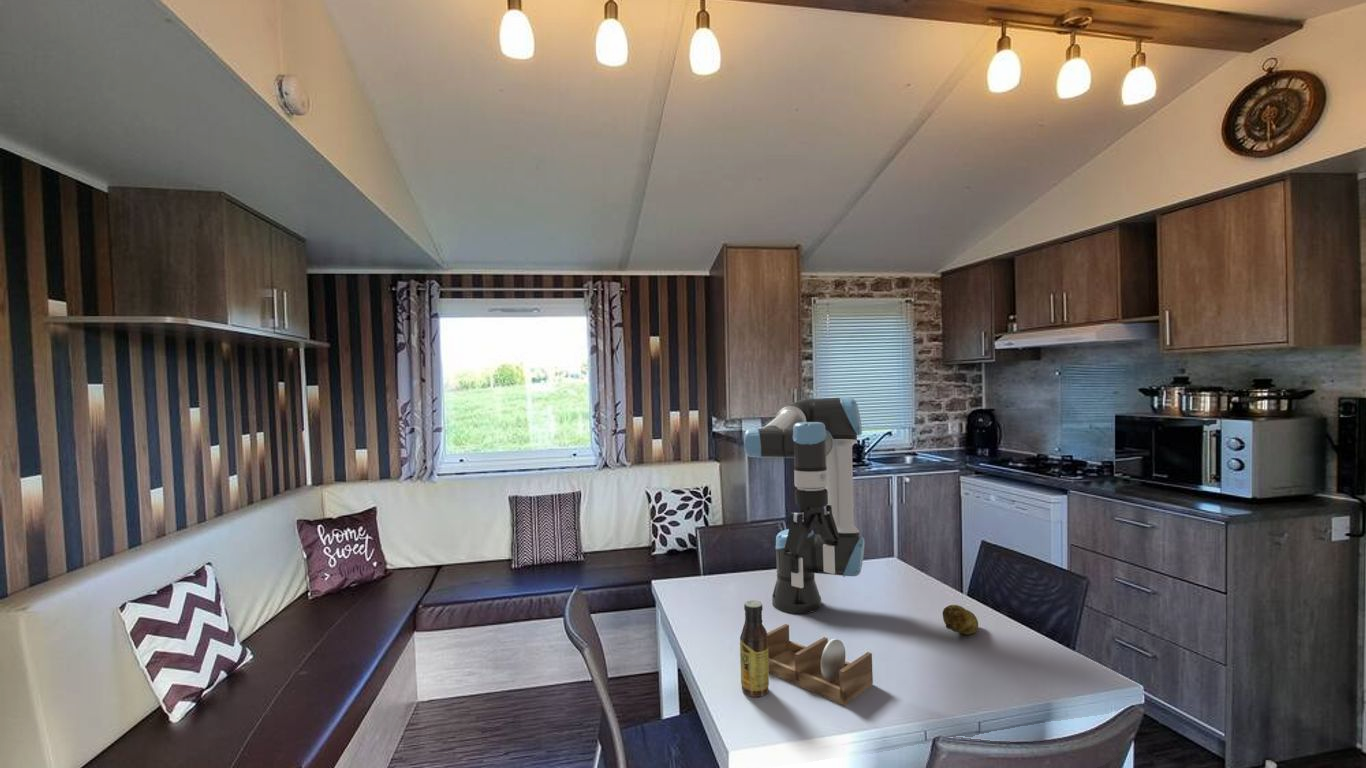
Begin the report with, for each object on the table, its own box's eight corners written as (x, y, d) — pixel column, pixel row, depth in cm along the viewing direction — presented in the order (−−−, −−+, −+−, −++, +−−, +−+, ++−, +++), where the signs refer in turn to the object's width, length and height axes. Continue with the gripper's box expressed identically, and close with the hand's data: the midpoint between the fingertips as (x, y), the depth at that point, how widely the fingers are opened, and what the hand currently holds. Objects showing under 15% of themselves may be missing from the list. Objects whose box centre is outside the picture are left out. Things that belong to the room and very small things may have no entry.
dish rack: (756, 667, 137) (755, 626, 137) (786, 651, 145) (785, 612, 145) (844, 705, 119) (842, 658, 120) (872, 684, 128) (871, 639, 128)
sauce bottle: (738, 685, 129) (736, 598, 129) (765, 683, 130) (762, 596, 130) (744, 700, 123) (741, 608, 123) (772, 698, 123) (769, 607, 123)
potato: (992, 634, 151) (991, 604, 152) (958, 644, 146) (957, 613, 146) (965, 623, 159) (964, 594, 159) (932, 632, 154) (931, 602, 154)
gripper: (794, 497, 121) (797, 597, 120) (852, 483, 138) (855, 570, 138) (765, 493, 126) (768, 589, 125) (825, 480, 143) (828, 564, 143)
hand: (814, 579), depth 131 cm, fingers open, 13 cm apart
